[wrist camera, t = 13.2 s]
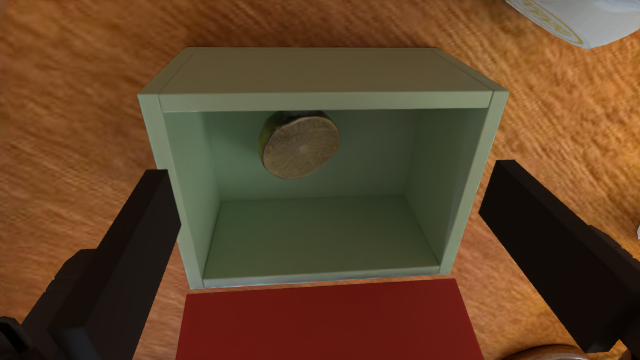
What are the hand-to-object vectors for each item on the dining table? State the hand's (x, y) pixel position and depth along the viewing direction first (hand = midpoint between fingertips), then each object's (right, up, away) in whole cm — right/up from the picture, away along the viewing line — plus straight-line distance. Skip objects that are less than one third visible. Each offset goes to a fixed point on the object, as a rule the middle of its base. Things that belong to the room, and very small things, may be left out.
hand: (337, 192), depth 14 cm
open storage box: (-1, +4, +10) cm, 11 cm away
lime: (-2, +5, +6) cm, 8 cm away
